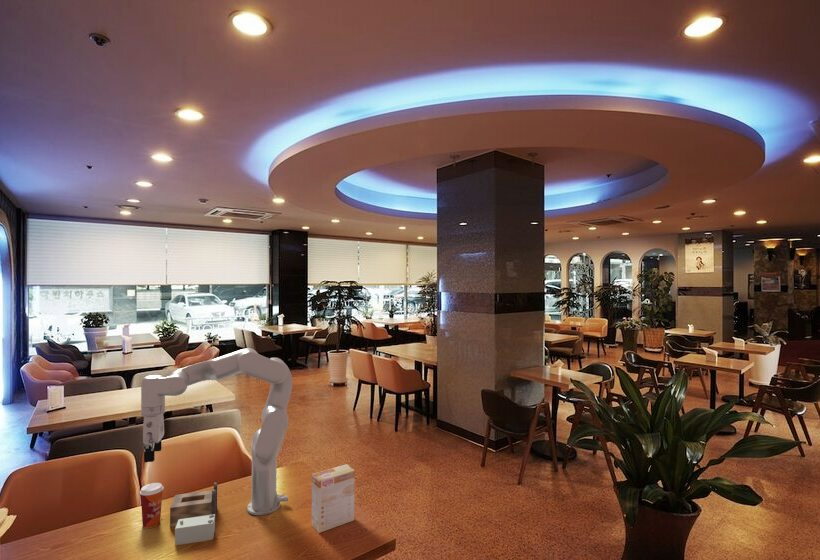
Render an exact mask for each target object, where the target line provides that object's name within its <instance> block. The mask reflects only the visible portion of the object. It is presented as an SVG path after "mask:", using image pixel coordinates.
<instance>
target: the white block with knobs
mask: <svg viewBox="0 0 820 560" xmlns="http://www.w3.org/2000/svg"><path fill="white" fill-rule="evenodd" d="M215 531H216V513H215V514H213V515H206V516H199V517H192V518H185V519H179V520H178V522H177V525H176V526H175V528H174V546H179V545H186V544H187V545H188V544H192V543H199V542H206V541H212V540H213V539H214V535H215Z"/></svg>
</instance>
